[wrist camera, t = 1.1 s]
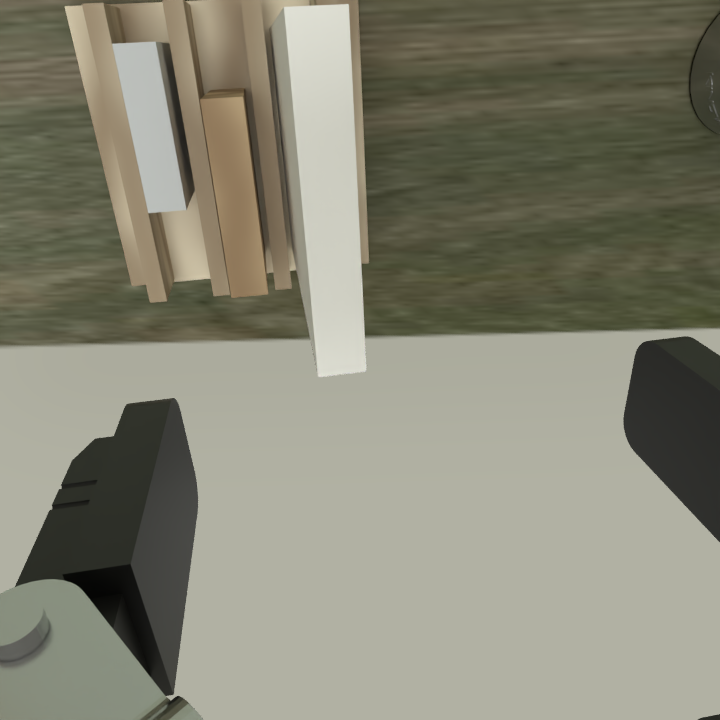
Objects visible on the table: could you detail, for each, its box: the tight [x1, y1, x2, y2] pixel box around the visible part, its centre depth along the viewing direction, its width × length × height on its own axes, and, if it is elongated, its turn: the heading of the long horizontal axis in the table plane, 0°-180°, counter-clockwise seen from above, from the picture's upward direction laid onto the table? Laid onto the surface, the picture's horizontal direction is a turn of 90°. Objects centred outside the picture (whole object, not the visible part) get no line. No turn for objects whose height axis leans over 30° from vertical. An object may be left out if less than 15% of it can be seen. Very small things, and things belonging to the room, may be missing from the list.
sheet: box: [269, 4, 366, 377], centre depth 29 cm, size 2×13×18 cm, turn 3°
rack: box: [65, 0, 369, 303], centre depth 35 cm, size 16×16×5 cm
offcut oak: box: [200, 88, 268, 298], centre depth 34 cm, size 2×10×8 cm, turn 3°
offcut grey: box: [112, 42, 195, 213], centre depth 32 cm, size 2×8×6 cm, turn 3°
